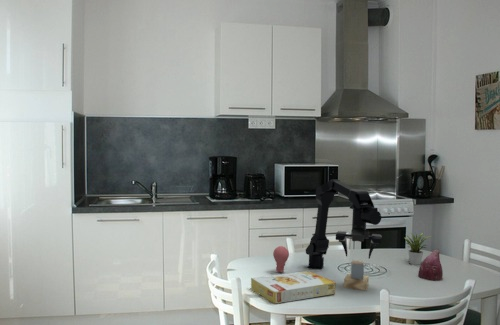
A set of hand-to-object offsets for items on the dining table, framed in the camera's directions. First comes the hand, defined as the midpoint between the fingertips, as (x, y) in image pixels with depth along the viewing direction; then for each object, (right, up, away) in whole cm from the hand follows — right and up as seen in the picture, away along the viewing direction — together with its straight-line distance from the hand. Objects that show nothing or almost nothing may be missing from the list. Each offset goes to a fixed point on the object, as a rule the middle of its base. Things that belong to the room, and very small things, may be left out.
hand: (357, 257), depth 204 cm
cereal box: (-28, -13, -9) cm, 32 cm away
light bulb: (-31, -11, +18) cm, 38 cm away
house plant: (+39, -11, +41) cm, 58 cm away
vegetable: (+37, -13, +16) cm, 42 cm away
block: (0, -13, +1) cm, 13 cm away
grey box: (0, -9, +1) cm, 9 cm away
